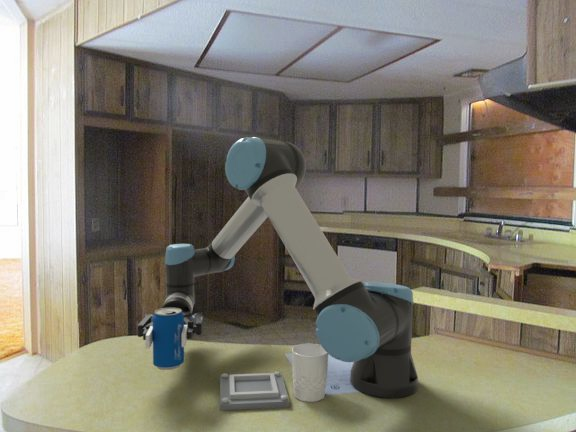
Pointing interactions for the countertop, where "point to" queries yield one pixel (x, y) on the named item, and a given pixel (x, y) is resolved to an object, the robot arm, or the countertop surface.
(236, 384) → the socket plate
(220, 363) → the countertop surface
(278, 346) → the countertop surface
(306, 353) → the white cup
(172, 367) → the beverage can
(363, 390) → the robot arm
